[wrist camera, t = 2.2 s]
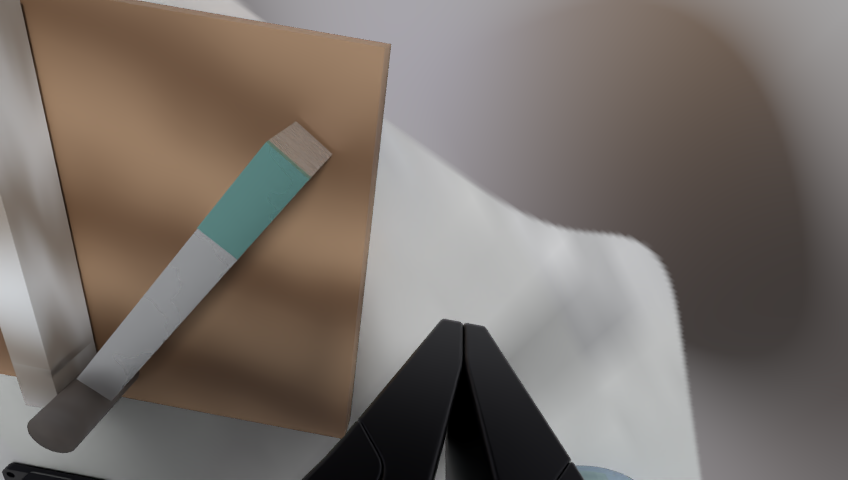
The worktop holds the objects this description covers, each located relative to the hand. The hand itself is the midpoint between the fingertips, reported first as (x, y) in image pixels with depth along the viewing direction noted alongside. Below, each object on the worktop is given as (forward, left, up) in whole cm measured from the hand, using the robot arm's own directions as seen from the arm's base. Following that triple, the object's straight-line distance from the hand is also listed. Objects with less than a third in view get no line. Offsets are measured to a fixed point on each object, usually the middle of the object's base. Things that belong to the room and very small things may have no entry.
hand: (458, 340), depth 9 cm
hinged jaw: (-5, +9, -8) cm, 13 cm away
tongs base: (-5, +12, -10) cm, 17 cm away
